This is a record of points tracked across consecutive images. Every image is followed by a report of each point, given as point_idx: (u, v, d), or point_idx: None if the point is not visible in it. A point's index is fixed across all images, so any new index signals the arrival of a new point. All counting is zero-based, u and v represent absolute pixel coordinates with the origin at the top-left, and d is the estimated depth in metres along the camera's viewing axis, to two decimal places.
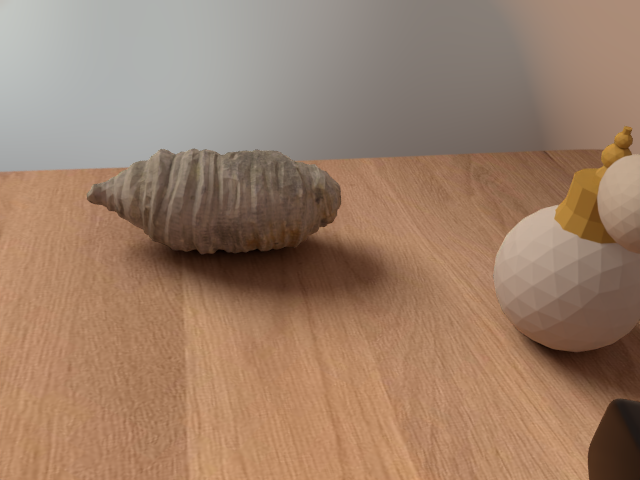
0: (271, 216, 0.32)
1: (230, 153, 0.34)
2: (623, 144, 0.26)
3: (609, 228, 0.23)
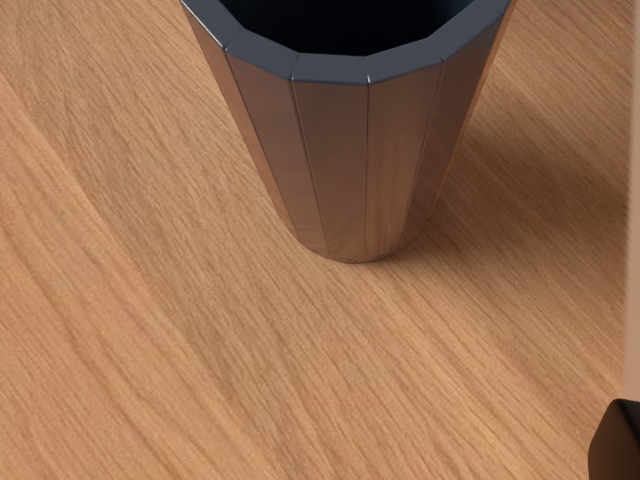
0: None
1: None
2: None
3: None
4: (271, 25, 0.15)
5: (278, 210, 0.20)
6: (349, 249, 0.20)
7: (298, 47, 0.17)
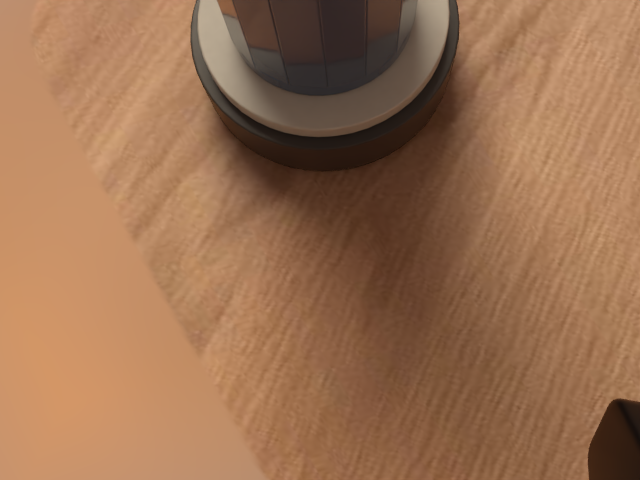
0: None
1: None
2: None
3: None
4: None
5: (226, 17, 0.17)
6: (307, 60, 0.17)
7: None
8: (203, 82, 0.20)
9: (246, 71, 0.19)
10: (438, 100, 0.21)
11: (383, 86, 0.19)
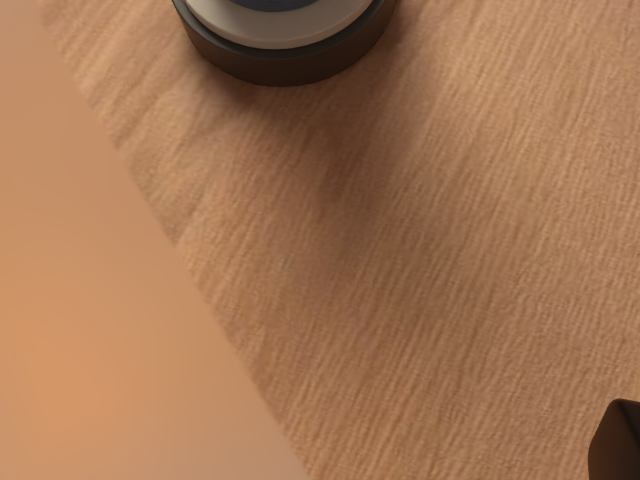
0: None
1: None
2: None
3: None
4: None
5: None
6: None
7: None
8: (176, 5, 0.23)
9: None
10: (384, 22, 0.23)
11: (332, 3, 0.21)
